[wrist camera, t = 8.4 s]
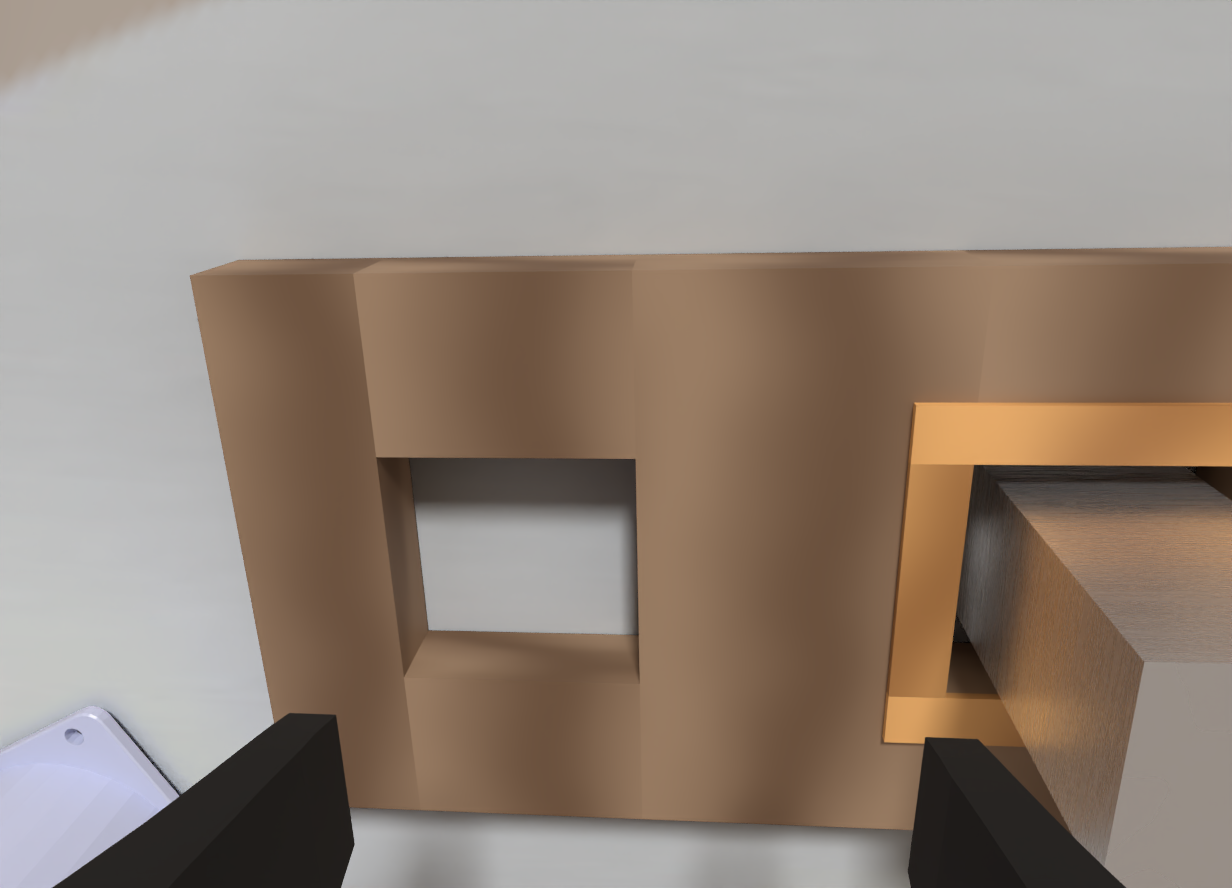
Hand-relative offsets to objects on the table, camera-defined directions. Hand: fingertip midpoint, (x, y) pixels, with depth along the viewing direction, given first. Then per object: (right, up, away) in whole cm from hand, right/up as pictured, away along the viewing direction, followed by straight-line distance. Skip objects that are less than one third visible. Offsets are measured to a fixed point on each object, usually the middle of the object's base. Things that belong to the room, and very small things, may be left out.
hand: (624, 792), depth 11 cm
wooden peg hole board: (+4, +2, +10) cm, 11 cm away
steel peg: (+10, +2, +9) cm, 14 cm away
